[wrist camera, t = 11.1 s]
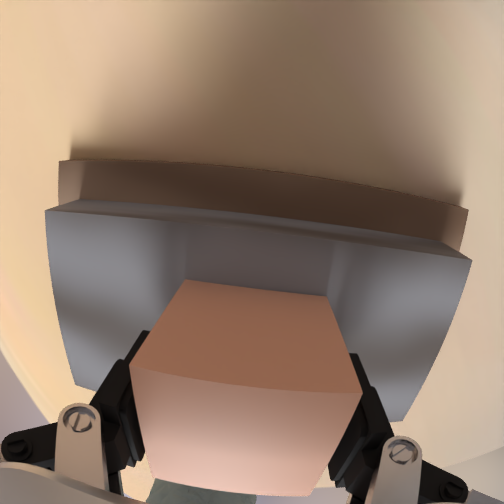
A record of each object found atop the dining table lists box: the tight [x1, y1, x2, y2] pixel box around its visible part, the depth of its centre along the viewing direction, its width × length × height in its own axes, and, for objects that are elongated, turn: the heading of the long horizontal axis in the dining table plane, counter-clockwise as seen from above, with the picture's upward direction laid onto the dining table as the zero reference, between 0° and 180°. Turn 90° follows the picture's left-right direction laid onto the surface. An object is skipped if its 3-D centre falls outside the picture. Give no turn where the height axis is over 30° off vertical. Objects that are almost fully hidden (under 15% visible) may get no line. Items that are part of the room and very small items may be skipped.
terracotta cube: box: [129, 279, 363, 496], centre depth 10 cm, size 6×6×6 cm
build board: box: [45, 160, 472, 422], centre depth 14 cm, size 14×22×4 cm, turn 84°
